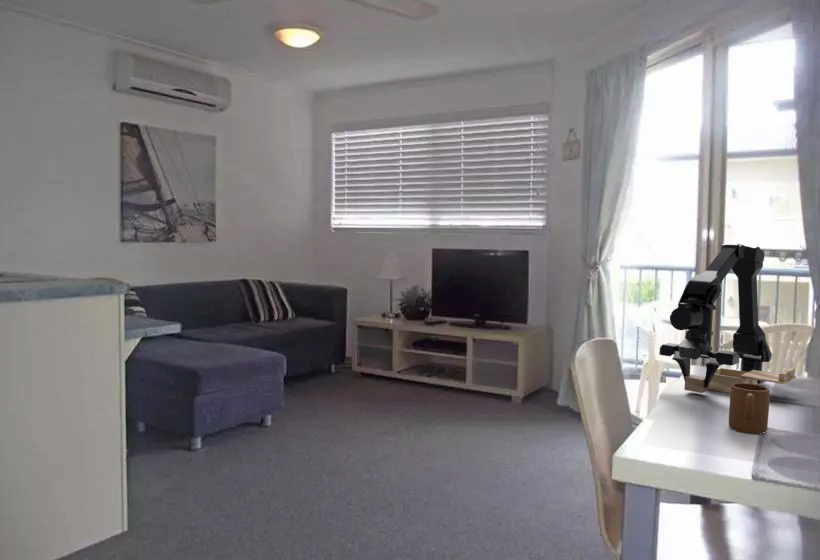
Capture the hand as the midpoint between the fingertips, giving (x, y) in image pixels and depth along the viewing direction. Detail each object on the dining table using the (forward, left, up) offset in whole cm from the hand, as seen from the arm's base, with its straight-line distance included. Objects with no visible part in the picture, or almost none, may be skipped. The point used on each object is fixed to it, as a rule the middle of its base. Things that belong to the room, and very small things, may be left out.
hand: (696, 386), depth 178 cm
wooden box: (-13, +4, -2) cm, 14 cm away
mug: (+27, +20, -2) cm, 34 cm away
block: (0, 0, -1) cm, 1 cm away
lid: (-13, +13, +3) cm, 19 cm away
